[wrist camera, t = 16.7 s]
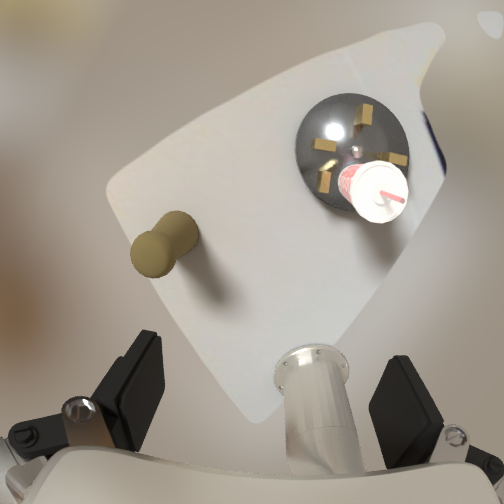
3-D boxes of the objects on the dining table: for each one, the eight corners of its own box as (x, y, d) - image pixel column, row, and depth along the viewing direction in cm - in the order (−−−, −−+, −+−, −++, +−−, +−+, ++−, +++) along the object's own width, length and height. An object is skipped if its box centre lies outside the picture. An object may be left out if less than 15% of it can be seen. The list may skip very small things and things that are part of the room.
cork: (204, 247, 40) (182, 280, 30) (165, 257, 41) (134, 291, 31) (191, 205, 39) (163, 224, 28) (151, 217, 39) (114, 239, 29)
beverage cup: (340, 151, 33) (382, 151, 20) (383, 168, 34) (441, 180, 20) (325, 198, 35) (357, 224, 22) (368, 213, 36) (418, 246, 22)
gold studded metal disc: (300, 86, 33) (305, 77, 28) (408, 110, 32) (424, 106, 28) (288, 200, 37) (291, 206, 33) (395, 216, 37) (409, 224, 33)
